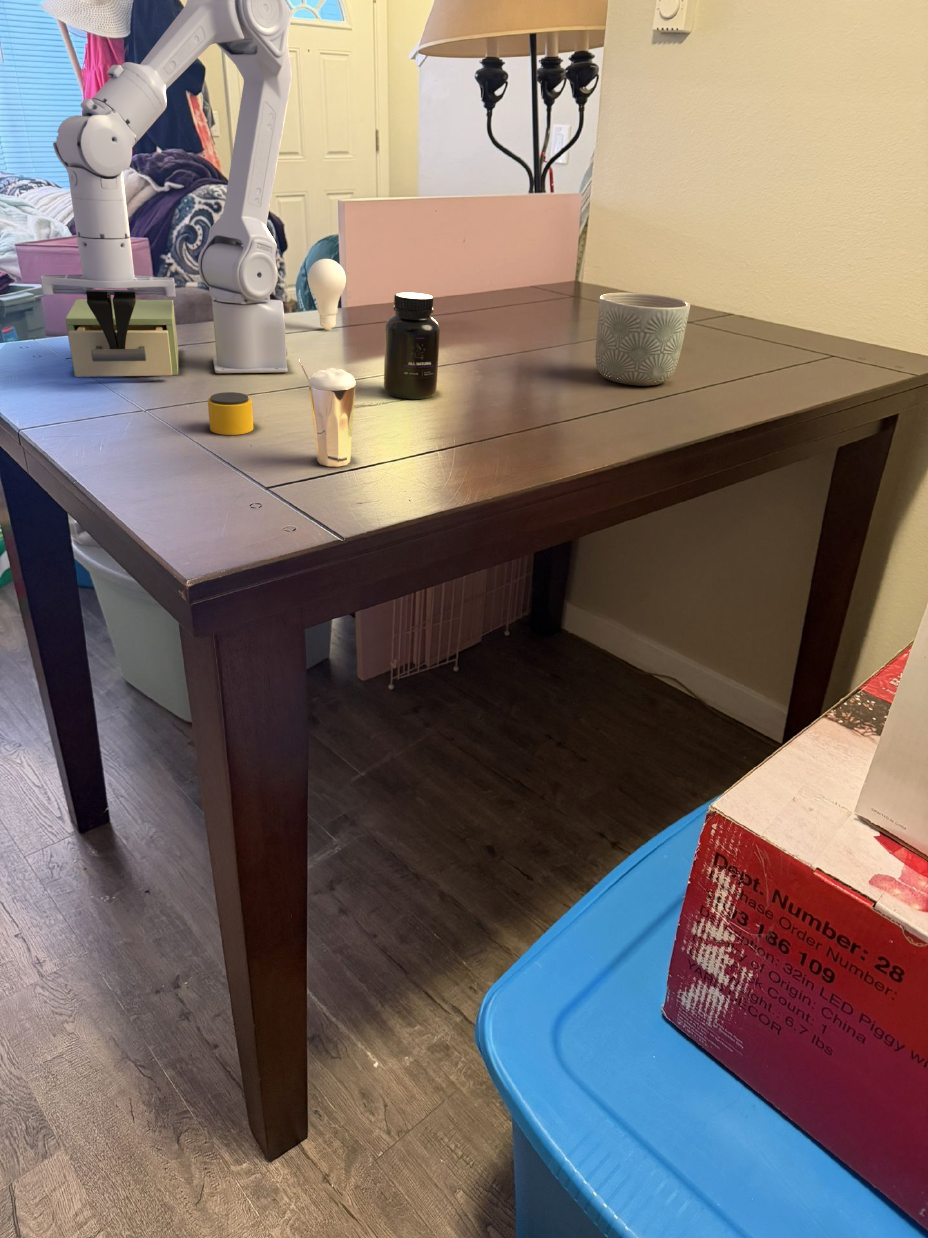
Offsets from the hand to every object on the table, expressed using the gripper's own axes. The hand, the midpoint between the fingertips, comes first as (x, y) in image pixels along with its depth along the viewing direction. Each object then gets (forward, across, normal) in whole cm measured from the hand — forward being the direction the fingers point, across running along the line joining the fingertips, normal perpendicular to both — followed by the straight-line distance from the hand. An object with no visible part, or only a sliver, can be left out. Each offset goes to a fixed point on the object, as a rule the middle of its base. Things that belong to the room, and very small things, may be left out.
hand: (118, 357), depth 106 cm
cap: (+4, -12, +19) cm, 23 cm away
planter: (+3, -69, +2) cm, 69 cm away
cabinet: (+3, -1, -12) cm, 13 cm away
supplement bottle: (+3, -35, +6) cm, 36 cm away
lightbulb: (+3, -31, -34) cm, 46 cm away
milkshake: (+4, -20, +31) cm, 37 cm away
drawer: (+3, 0, -6) cm, 6 cm away
